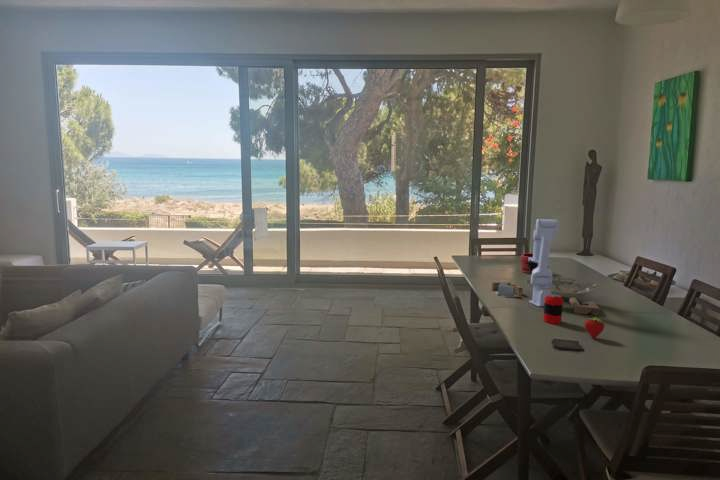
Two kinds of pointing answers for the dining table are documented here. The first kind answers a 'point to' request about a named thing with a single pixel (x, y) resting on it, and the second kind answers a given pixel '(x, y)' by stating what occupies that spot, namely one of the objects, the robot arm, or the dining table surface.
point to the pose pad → (507, 296)
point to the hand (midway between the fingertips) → (536, 276)
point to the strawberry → (594, 327)
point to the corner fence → (517, 288)
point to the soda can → (553, 309)
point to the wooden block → (584, 307)
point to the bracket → (505, 290)
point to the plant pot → (524, 262)
